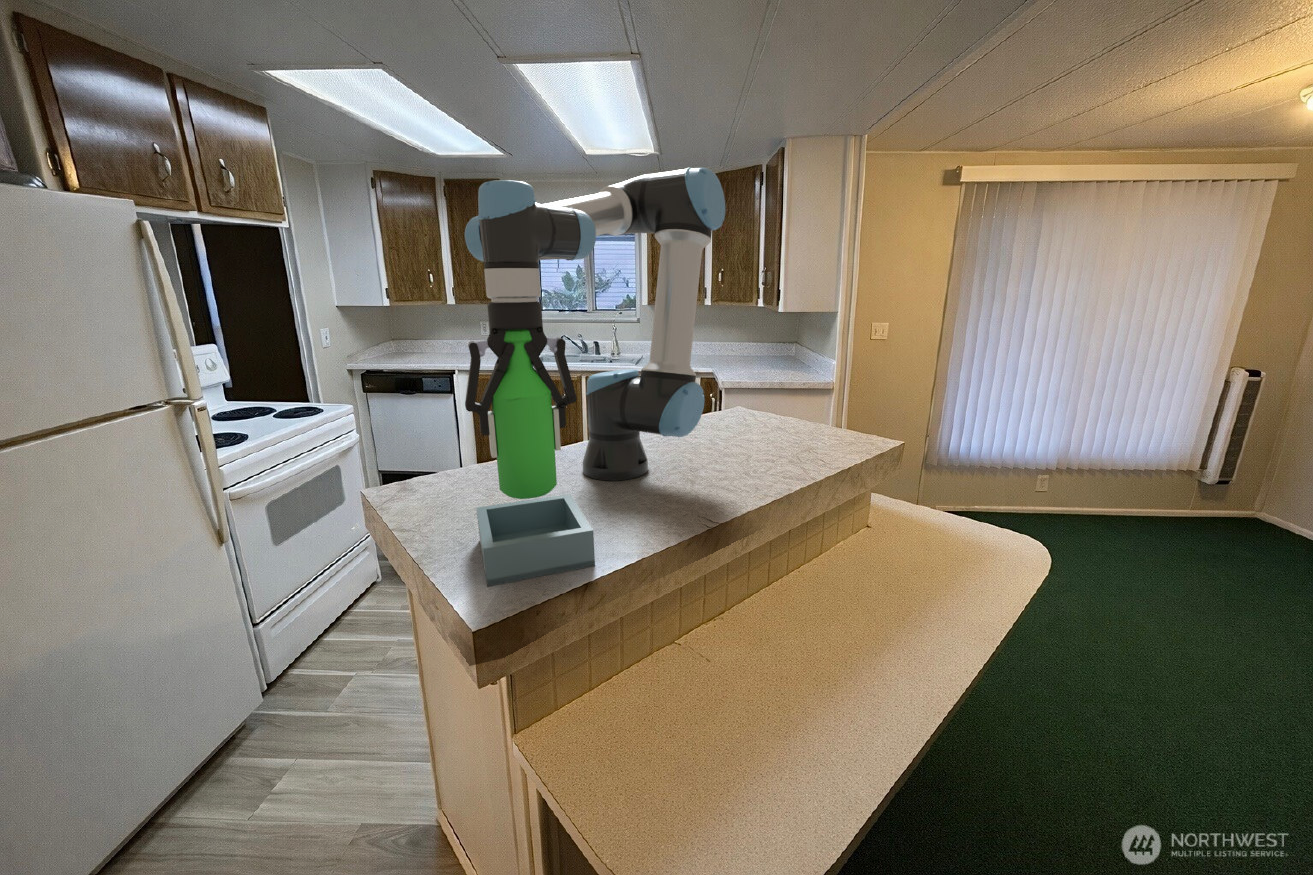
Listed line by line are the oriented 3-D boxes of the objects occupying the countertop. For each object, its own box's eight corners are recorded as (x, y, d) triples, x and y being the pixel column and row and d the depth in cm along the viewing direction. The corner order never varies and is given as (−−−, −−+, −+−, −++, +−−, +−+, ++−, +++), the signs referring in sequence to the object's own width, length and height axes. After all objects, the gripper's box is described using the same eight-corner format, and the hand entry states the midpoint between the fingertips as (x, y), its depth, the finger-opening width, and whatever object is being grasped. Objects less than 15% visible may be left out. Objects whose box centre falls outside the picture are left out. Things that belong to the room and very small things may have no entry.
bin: (572, 524, 99) (570, 493, 97) (594, 565, 84) (593, 530, 83) (479, 540, 93) (476, 507, 92) (487, 586, 79) (483, 548, 77)
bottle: (504, 504, 80) (488, 332, 74) (496, 486, 88) (481, 328, 81) (563, 495, 84) (553, 329, 77) (550, 478, 91) (540, 325, 85)
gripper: (582, 298, 85) (588, 438, 91) (433, 301, 78) (451, 452, 84) (594, 299, 78) (600, 450, 85) (432, 302, 71) (452, 467, 77)
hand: (525, 451), depth 84 cm, fingers closed on bottle, 9 cm apart
